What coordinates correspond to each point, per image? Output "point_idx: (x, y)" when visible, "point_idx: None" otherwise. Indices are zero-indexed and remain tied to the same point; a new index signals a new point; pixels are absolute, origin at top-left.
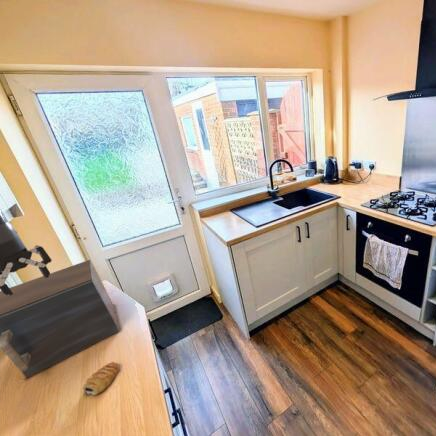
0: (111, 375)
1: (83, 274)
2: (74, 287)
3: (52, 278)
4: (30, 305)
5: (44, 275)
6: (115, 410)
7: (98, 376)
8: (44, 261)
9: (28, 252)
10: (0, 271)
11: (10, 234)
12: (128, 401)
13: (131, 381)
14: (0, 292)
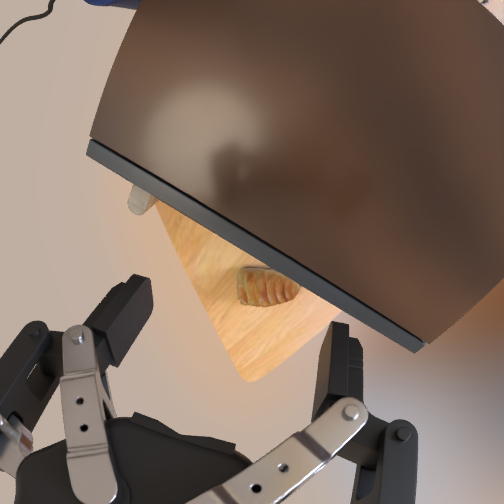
0: (273, 305)
1: (477, 268)
2: (374, 319)
3: (442, 78)
4: (223, 237)
5: (322, 356)
6: (240, 331)
7: (258, 300)
8: (353, 459)
9: None
10: (73, 411)
11: None
12: (256, 339)
13: (281, 325)
14: None
